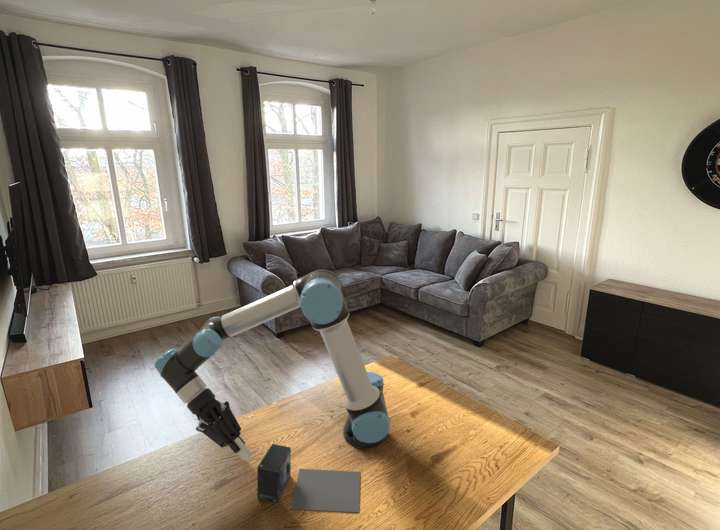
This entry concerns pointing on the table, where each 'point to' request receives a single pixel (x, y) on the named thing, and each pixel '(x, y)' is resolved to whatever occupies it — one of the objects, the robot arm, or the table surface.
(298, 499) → the mat
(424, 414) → the table surface
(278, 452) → the small box
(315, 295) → the robot arm
